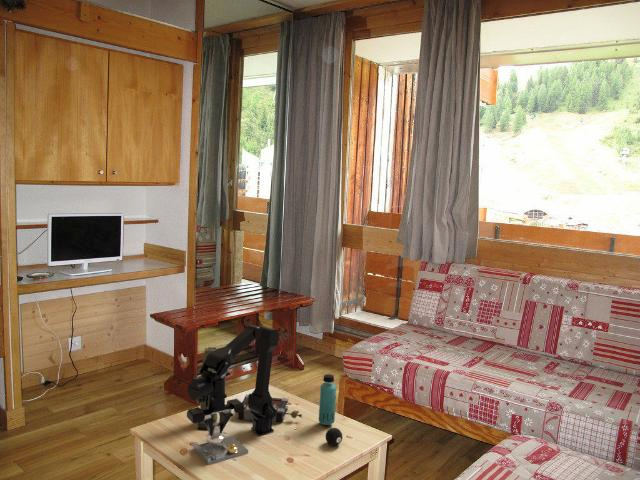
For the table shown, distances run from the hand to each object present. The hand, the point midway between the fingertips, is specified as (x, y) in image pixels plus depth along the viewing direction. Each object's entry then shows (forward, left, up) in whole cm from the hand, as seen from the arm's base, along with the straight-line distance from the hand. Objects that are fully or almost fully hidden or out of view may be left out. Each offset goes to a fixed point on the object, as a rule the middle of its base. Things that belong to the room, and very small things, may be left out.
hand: (215, 434), depth 185 cm
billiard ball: (-40, +15, -8) cm, 43 cm away
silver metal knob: (0, 0, -2) cm, 2 cm away
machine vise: (-33, -17, -8) cm, 38 cm away
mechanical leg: (-8, -23, -8) cm, 26 cm away
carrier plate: (-3, -1, -8) cm, 8 cm away
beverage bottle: (-47, +1, -8) cm, 48 cm away
